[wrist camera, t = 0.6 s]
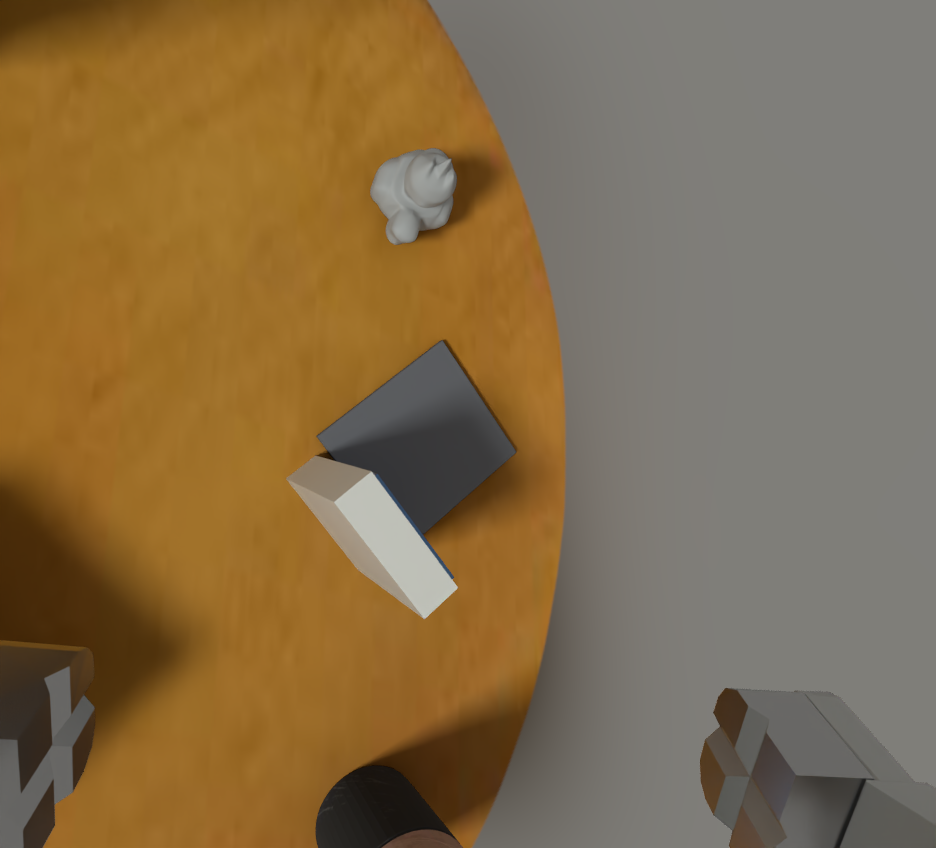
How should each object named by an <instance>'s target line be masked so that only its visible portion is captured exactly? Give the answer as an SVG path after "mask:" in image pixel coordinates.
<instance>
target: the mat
mask: <svg viewBox="0 0 936 848" xmlns="http://www.w3.org/2000/svg"><path fill="white" fill-rule="evenodd" d="M317 438H318V439H319V440H320V442H321V443H322V444H323V445H324V447H325V448H326V449H327V451H328V452H329V453H330V455H331V456H332V457H333V459H334V460H335V461H337V462H340V463H344V464H347V465H351V466H354V467H358V468H361V469H365V470H368V471H372V472H373V473H377V474H378V475H379V476H380V478H381V479H382V481H383V482H384V483H385V485H386V486H387V487H388V489H389V490H390V491H391V493H392V494H393V495H394V497H395V498H396V499H397V501H398V502H399V503H400V505H401V506H402V508H403V509H404V510H405V512H406V513H407V514H408V516H409V517H410V518H411V520H412V521H413V522H414V524H415V525H416V526H417V528H418V529H419V530H420V532H421V533H422V535H423V534H424V533H425V532H426V531H428V530H429V529H430V528H431V527H432V526H433V525H434V524H435V523H437V522H438V521H439V520H440V519H441V518H442V517H443V516H445V515H446V514H447V513H448V512H449V511H450V510H451V509H452V508H454V507H455V506H456V505H457V504H458V503H459V502H460V501H462V500H463V499H464V498H465V497H466V496H467V495H468V494H470V493H471V492H472V491H473V490H474V489H475V488H476V487H477V486H479V485H480V484H481V483H482V482H483V481H484V480H485V479H487V478H488V477H489V476H490V475H491V474H492V473H493V472H494V471H496V470H497V469H498V468H499V467H500V466H501V465H502V464H504V463H505V462H506V461H507V460H508V459H509V458H510V457H511V456H513V455H514V454H515V453H516V451H515V449H514V448H513V446H512V445H511V443H510V442H509V440H508V439H507V437H506V436H505V434H504V433H503V431H502V430H501V428H500V427H499V425H498V424H497V422H496V421H495V419H494V418H493V416H492V415H491V413H490V412H489V410H488V409H487V407H486V406H485V404H484V402H483V401H482V399H481V398H480V396H479V395H478V393H477V392H476V390H475V389H474V387H473V386H472V384H471V383H470V381H469V380H468V378H467V377H466V375H465V374H464V372H463V371H462V369H461V368H460V366H459V365H458V363H457V362H456V360H455V359H454V357H453V356H452V354H451V353H450V351H449V350H448V348H447V347H446V345H445V344H444V342H443V341H439V342H438V343H437V344H436V345H434V346H433V347H432V348H430V349H429V350H428V351H426V352H425V353H424V354H423V355H421V356H420V357H419V358H417V359H416V360H415V361H413V362H412V363H411V364H410V365H408V366H407V367H406V368H404V369H403V370H402V371H400V372H399V373H398V374H396V375H395V376H394V377H393V378H391V379H390V380H389V381H387V382H386V383H385V384H383V385H382V386H381V387H380V388H378V389H377V390H376V391H374V392H373V393H372V394H370V395H369V396H368V397H367V398H365V399H364V400H363V401H361V402H360V403H359V404H357V405H356V406H355V407H354V408H352V409H351V410H350V411H348V412H347V413H346V414H344V415H343V416H342V417H341V418H339V419H338V420H337V421H335V422H334V423H333V424H331V425H330V426H329V427H328V428H326V429H325V430H324V431H322V432H321V433H320V434H318V435H317Z"/></svg>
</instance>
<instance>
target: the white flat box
mask: <svg viewBox="0 0 936 848" xmlns="http://www.w3.org/2000/svg"><path fill="white" fill-rule="evenodd" d="M286 479H287V481H288V482H289V483H290V484H291V486H292V487H293V488H294V489H295V491H296V492H297V493H298V494H299V496H300V497H301V498H302V500H303V501H304V502H305V503H306V505H307V506H308V507H309V508H310V510H311V511H312V512H313V513H314V515H315V516H316V517H317V518H318V520H319V521H320V522H321V524H322V525H323V526H324V527H325V529H326V530H327V531H328V532H329V534H330V535H331V536H332V537H333V539H334V540H335V541H336V543H337V544H338V545H339V546H340V548H341V549H342V550H343V551H344V553H345V554H346V555H347V556H348V558H349V559H350V560H351V562H352V563H353V564H354V565H355V567H356V568H357V569H358V570H359V571H360V572H362V573H363V574H364V575H366V576H367V577H368V578H370V579H371V580H372V581H374V582H375V583H376V584H378V585H379V586H380V587H382V588H383V589H384V590H386V591H387V592H389V593H390V594H391V595H393V596H394V597H395V598H397V599H398V600H399V601H401V602H402V603H403V604H405V605H406V606H407V607H409V608H410V609H411V610H413V611H414V612H416V613H417V614H418V615H420V616H421V617H422V618H424V619H425V618H426V617H427V616H428V615H430V614H431V613H432V612H433V611H434V610H435V609H436V608H437V607H438V606H439V605H440V604H441V603H442V602H443V601H444V600H446V599H447V598H448V597H449V596H450V595H451V594H452V593H453V592H454V591H455V590H456V589H457V588H458V587H457V586H456V584H455V583H454V582H453V580H452V579H453V578H454V576H453V575H452V574H451V572H450V571H449V570H448V568H447V567H446V566H445V564H444V563H443V561H442V560H441V559H440V557H439V556H438V555H437V553H436V552H435V551H434V549H433V548H432V547H431V545H430V544H429V543H428V541H427V540H426V539H425V537H424V536H423V535H422V533H421V532H420V530H419V529H418V528H417V526H416V525H415V524H414V522H413V521H412V520H411V518H410V517H409V516H408V514H407V513H406V512H405V510H404V509H403V508H402V506H401V505H400V503H399V502H398V501H397V499H396V498H395V497H394V495H393V494H392V493H391V491H390V490H389V489H388V487H387V486H386V485H385V483H384V482H383V481H382V479H381V478H380V476H379V475H378V474H377V473H373V472H372V471H368V470H365V469H361V468H358V467H354V466H351V465H347V464H344V463H340V462H337V461H333V460H330V459H326V458H323V457H319V456H314V457H313V458H312V459H311V460H309V461H308V462H307V463H305V464H304V465H303V466H302V467H300V468H299V469H298V470H296V471H295V472H294V473H293V474H291V475H290V476H289V477H287V478H286Z"/></svg>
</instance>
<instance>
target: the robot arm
mask: <svg viewBox="0 0 936 848" xmlns="http://www.w3.org/2000/svg"><path fill="white" fill-rule="evenodd" d="M93 679H94V659H93V653H92V652H91V651H90V650H89V649H88V647H77V646H65V645H53V644H41V643H29V642H17V641H5V640H1V641H0V848H43V846H44V844H45V842H46V840H47V839H48V837H49V835H50V833H51V831H52V830H53V828H54V826H55V809H54V805H55V804H56V803H58V802H59V801H61V800H62V799H63V798H65V797H66V796H68V795H69V794H71V793H72V792H73V791H74V789H75V787H76V785H77V783H78V781H79V780H80V778H81V776H82V774H83V772H84V769H85V766H86V763H87V760H88V757H89V754H90V750H91V747H92V743H93V736H94V729H95V707H94V706H93V705H92V704H91V703H90V702H89V700H88V699H87V698H86V697H85V696H84V693H85V692H86V690H87V688H88V687H89V685H90V684H91V682H92V680H93ZM713 713H714V715H715V717H716V719H717V721H718V723H719V725H720V727H719V728H718V729H717V730H715V731H714V732H713V733H712V734H711V735H710V736H709V737H708V738H706V739H705V743H704V746H703V750H702V754H701V758H700V772H701V784H702V787H703V791H704V795H705V799H706V801H707V803H708V805H709V807H710V809H711V811H712V813H713V815H714V816H715V817H716V818H717V819H719V820H720V821H721V822H722V823H724V824H725V825H726V826H727V827H729V828H730V829H731V830H732V835H731V840H730V843H729V847H730V848H936V788H934V787H933V786H931V785H929V784H928V783H921V782H920V783H919V782H915V781H914V780H913V779H912V778H911V777H910V776H909V774H908V773H907V772H906V771H905V770H904V769H903V768H902V767H901V765H900V764H899V763H898V762H897V761H896V760H895V759H894V757H893V756H892V755H891V754H890V753H889V752H888V751H887V749H886V748H885V747H884V746H883V745H882V744H881V743H880V742H879V741H878V739H877V738H876V737H875V736H874V735H873V734H872V733H871V731H870V730H869V729H868V728H867V727H866V726H865V725H864V724H863V722H862V721H861V720H860V719H859V718H858V717H857V716H856V715H855V713H854V712H853V711H852V710H851V709H850V708H849V707H848V706H847V704H846V703H845V702H844V701H843V700H842V699H841V698H840V697H838V696H836V695H834V694H833V693H831V692H821V691H794V692H786V691H769V690H751V689H734V688H725V689H724V691H723V692H722V693H721V694H720V696H719V697H718V700H717V703H716V706H715V709H714V712H713Z"/></svg>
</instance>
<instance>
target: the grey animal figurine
mask: <svg viewBox="0 0 936 848" xmlns="http://www.w3.org/2000/svg"><path fill="white" fill-rule="evenodd" d="M451 159H452V158H451ZM451 159H448V157H447V156H446V154H445V153H444V152H442V151H441V150H439V149H436V148H431V149H427V150H415V151H412V152H408V153H405V154H403V155H401V156H399V157H397V158H392V159H389V160H387V161H386V162H385V163H383V164H382V165H381V166H380V168H379V169H378V171H377V172H376V175H375V177H374V180H373V183H372V186H371V190H370V194H371V197H372V199H373V200H374V202H376V203H377V204H378V205H379V208H380V210H381V211H382V213H383V214H384V215H385V216H386V217H387V218H388V219H389V221H388V223H387V226H386V235H387V238H388V240H389V241H390V242H391V243H393V244H395V245H399V244H402V243H410V242H413V241H415V240H416V238H417V235H418V232H419V231H423V230H427V229H436V228H439V227H441V226H443V225H445V224H446V223H447V221H448V219H449V216H450V213H451V210H452V206H453V196H452V194H453V192H454V190H455V187H456V183H457V176H456V173H455V171H454V169H453V165H452V163H451Z"/></svg>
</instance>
